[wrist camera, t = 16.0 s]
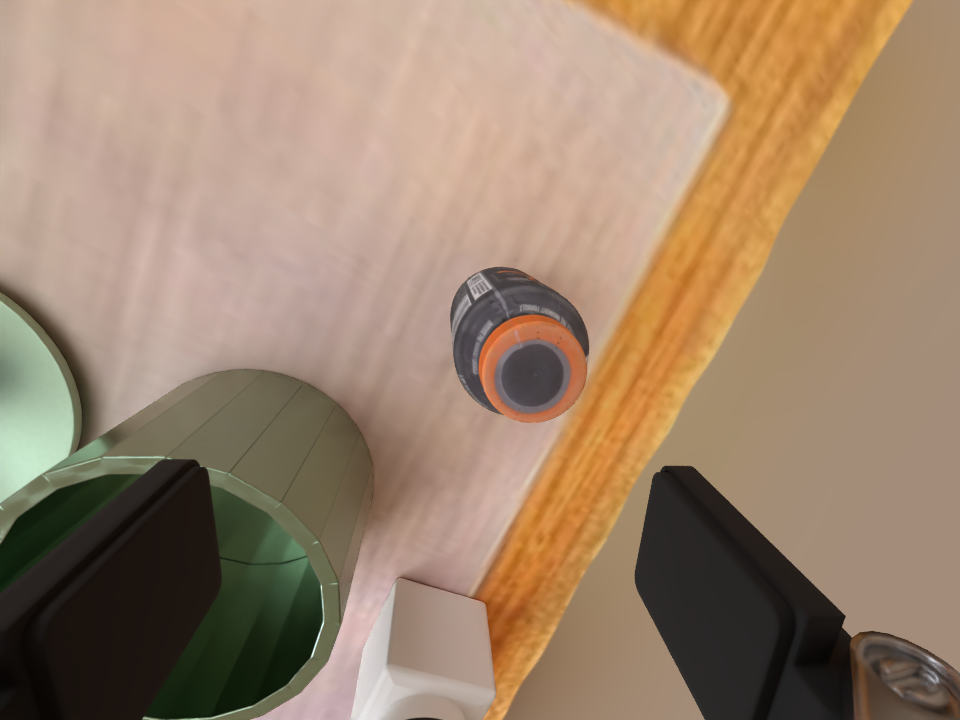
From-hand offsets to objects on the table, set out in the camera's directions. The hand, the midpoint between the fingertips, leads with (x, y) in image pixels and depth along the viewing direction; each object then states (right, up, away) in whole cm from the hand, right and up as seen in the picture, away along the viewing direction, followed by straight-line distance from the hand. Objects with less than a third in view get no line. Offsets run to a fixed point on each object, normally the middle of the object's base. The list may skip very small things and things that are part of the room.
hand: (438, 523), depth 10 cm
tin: (-13, -4, +20) cm, 24 cm away
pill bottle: (+2, +6, +18) cm, 19 cm away
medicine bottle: (-3, -16, +25) cm, 30 cm away
